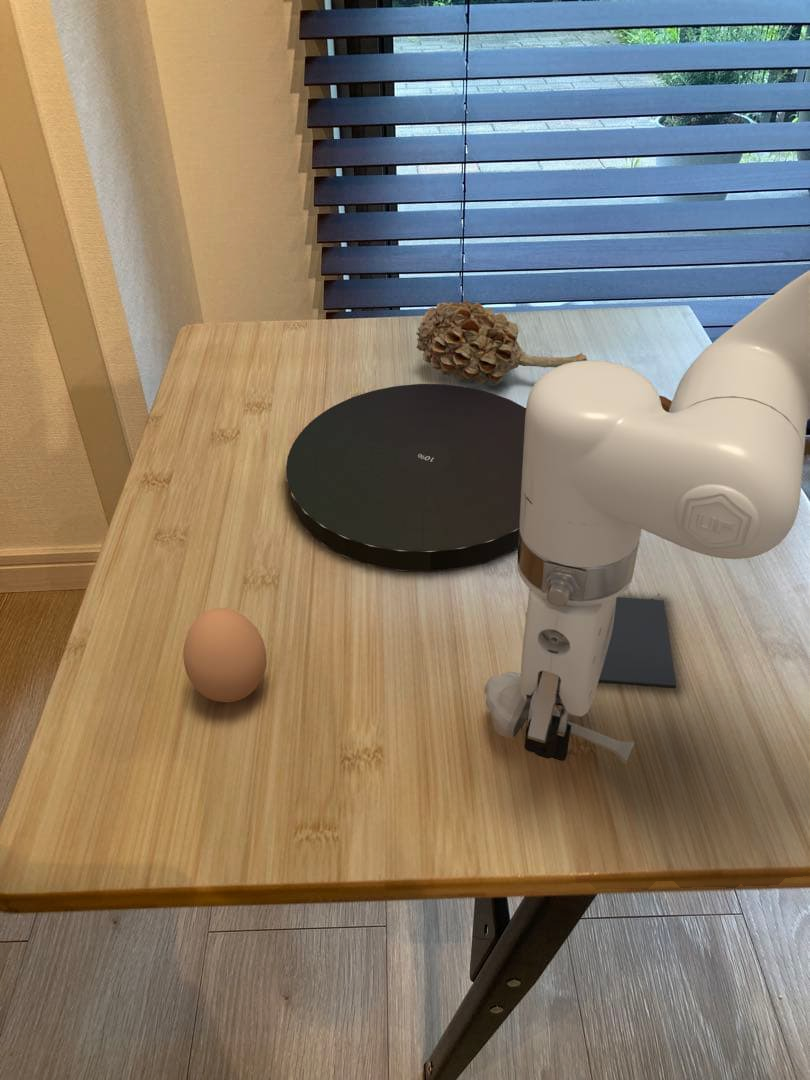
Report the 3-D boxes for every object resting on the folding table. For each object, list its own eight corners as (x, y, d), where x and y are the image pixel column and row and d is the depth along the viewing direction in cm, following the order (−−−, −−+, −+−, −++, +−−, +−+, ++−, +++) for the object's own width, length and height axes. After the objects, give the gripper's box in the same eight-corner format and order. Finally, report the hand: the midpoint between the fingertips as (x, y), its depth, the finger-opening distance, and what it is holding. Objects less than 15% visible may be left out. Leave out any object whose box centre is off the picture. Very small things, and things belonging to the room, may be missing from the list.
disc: (243, 541, 86) (238, 519, 84) (344, 389, 107) (342, 368, 105) (533, 599, 79) (535, 576, 77) (580, 424, 100) (583, 402, 98)
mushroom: (629, 758, 60) (476, 685, 63) (608, 802, 62) (462, 729, 66) (650, 703, 65) (508, 638, 69) (630, 746, 68) (494, 681, 71)
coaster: (663, 602, 79) (663, 600, 78) (675, 687, 71) (676, 685, 71) (554, 595, 80) (555, 592, 79) (556, 678, 72) (556, 676, 72)
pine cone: (407, 390, 107) (405, 318, 100) (426, 353, 114) (426, 283, 107) (582, 414, 102) (592, 340, 95) (591, 374, 109) (602, 302, 102)
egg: (288, 689, 72) (274, 616, 66) (224, 735, 69) (203, 663, 63) (242, 647, 76) (225, 574, 70) (179, 689, 72) (155, 617, 66)
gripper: (607, 661, 47) (578, 828, 59) (658, 482, 59) (625, 652, 71) (479, 629, 50) (476, 796, 62) (553, 463, 61) (538, 630, 73)
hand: (556, 717), depth 66 cm, fingers closed on mushroom, 5 cm apart
